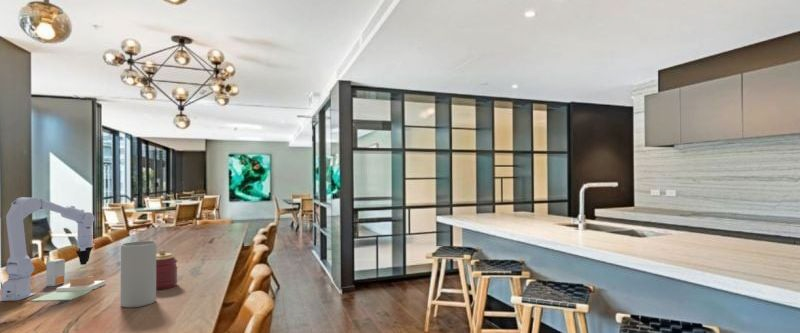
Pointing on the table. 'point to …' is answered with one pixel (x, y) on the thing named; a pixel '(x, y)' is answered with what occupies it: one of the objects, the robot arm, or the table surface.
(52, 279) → the skincare box
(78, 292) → the mat
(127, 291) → the cylinder vase
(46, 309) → the table surface
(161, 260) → the canister
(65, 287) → the board
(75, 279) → the brick
